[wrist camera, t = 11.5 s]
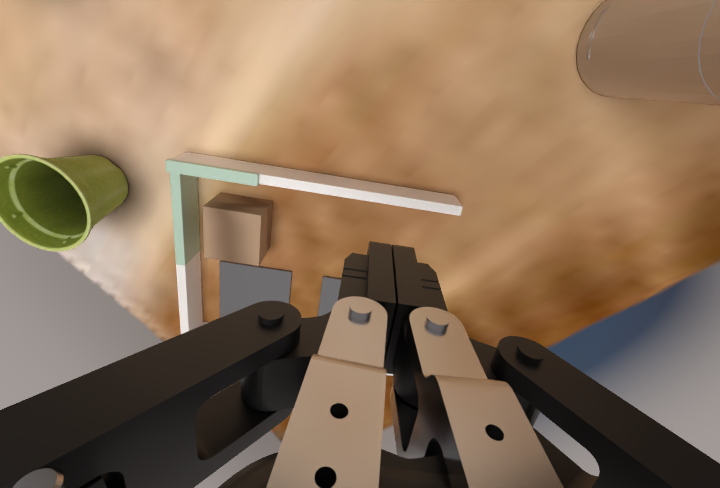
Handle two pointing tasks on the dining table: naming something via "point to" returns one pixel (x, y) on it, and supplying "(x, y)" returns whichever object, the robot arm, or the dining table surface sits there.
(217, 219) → the walnut block
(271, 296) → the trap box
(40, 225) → the plant pot
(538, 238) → the dining table surface
